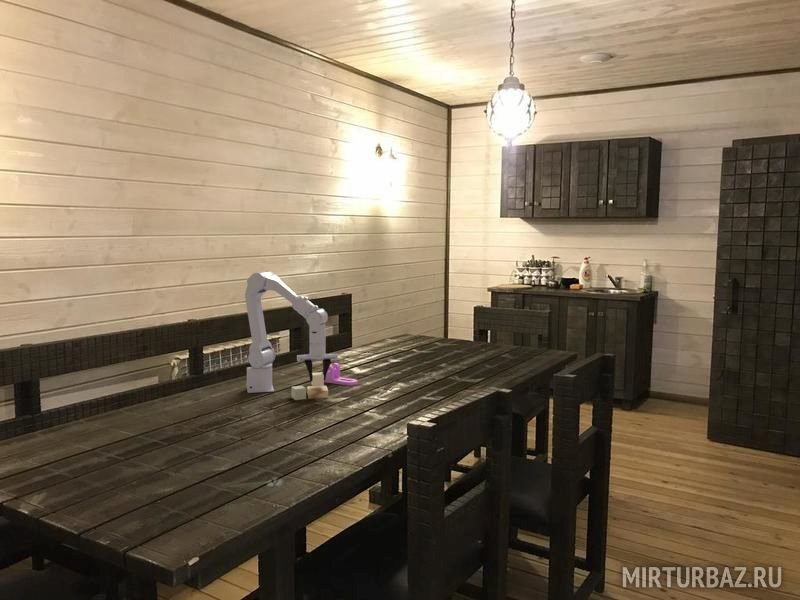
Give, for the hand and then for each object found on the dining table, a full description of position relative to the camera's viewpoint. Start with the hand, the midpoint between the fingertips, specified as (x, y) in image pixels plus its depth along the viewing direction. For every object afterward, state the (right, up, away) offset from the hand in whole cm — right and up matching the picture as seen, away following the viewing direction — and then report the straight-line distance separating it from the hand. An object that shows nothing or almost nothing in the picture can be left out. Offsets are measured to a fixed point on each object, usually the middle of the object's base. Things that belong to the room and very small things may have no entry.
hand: (317, 379), depth 230 cm
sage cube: (-6, -6, -3) cm, 9 cm away
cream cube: (0, -2, 0) cm, 2 cm away
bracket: (+7, -4, +20) cm, 22 cm away
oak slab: (0, -6, +1) cm, 6 cm away
